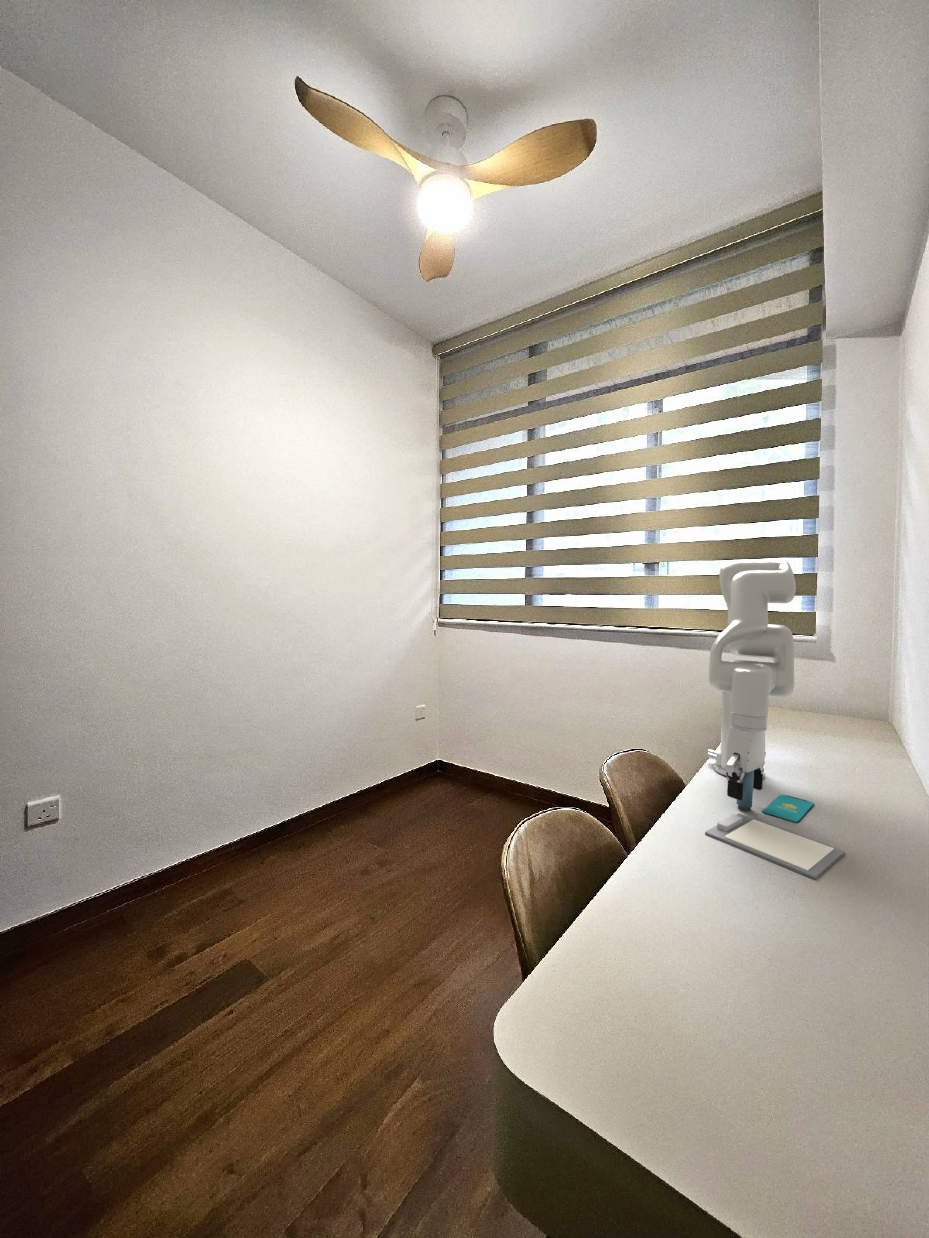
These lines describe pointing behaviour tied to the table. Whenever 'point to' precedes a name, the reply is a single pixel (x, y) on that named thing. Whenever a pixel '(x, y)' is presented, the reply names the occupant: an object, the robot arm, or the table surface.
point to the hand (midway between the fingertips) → (744, 792)
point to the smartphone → (788, 808)
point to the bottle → (746, 792)
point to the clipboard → (776, 844)
